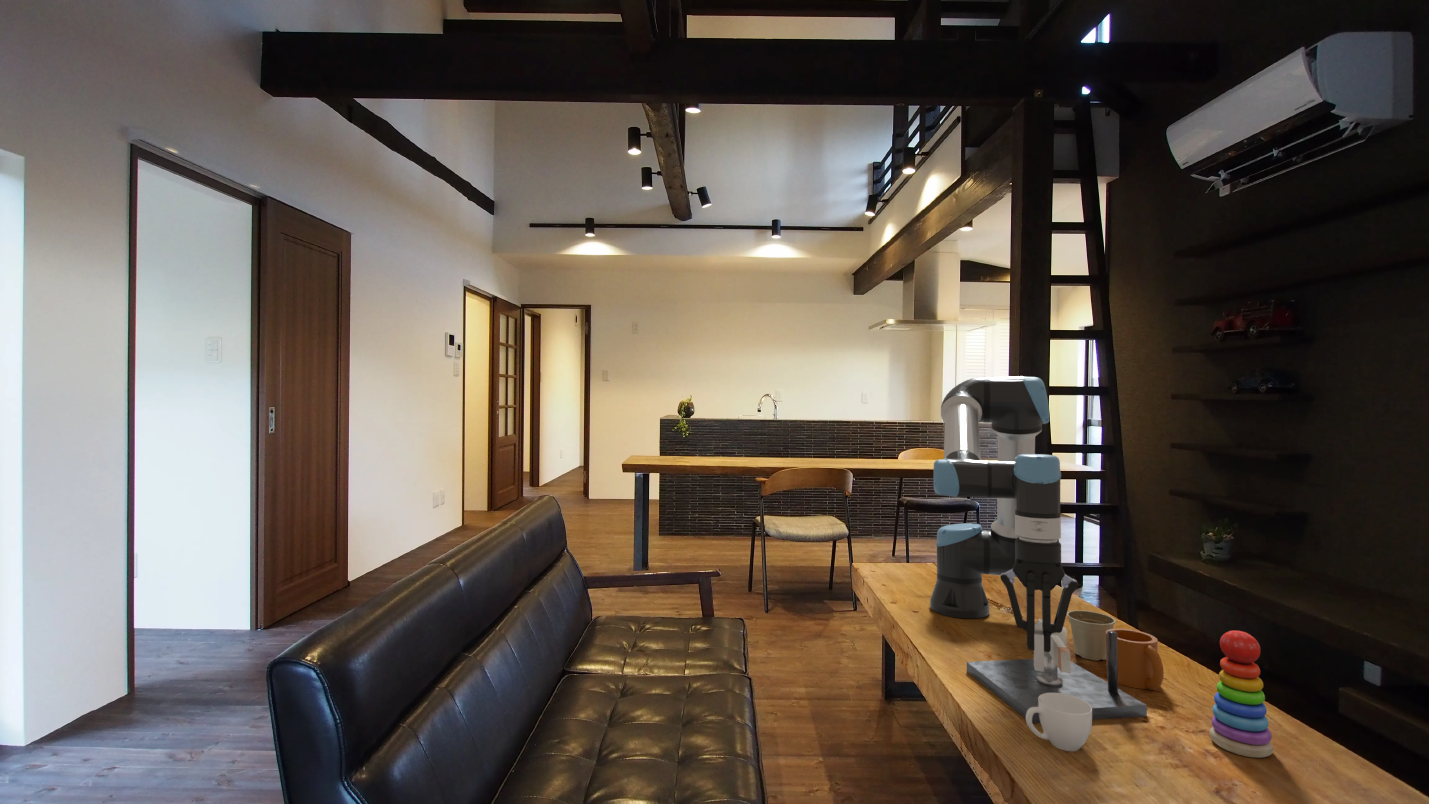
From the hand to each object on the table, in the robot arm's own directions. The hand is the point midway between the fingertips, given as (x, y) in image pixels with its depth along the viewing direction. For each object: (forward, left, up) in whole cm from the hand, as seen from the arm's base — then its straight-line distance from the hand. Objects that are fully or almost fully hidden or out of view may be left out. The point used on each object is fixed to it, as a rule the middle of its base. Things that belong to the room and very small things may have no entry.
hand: (1038, 667), depth 115 cm
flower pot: (-22, +27, -8) cm, 36 cm away
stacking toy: (+16, +24, -8) cm, 30 cm away
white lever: (-3, +5, +1) cm, 6 cm away
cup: (+12, -5, -8) cm, 15 cm away
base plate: (-6, +6, -7) cm, 12 cm away
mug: (-8, +26, -8) cm, 29 cm away
